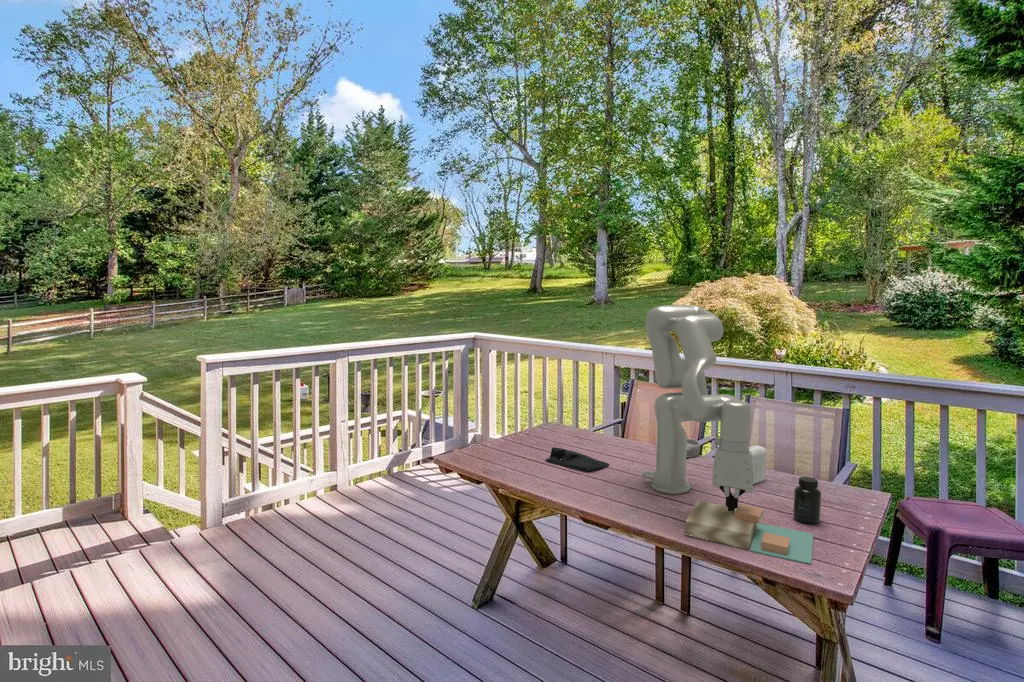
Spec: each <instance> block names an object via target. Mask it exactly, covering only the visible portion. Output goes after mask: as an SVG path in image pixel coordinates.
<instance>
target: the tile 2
mask: <svg viewBox="0 0 1024 682" xmlns="http://www.w3.org/2000/svg"><path fill="white" fill-rule="evenodd" d="M789 546H790V538H788V537H783V536H779V535H774V534H769V533H764V536H763V539H762V542H761V549H763V550H767V551H771V552H776V553H780V554H784V555H787V554H788V550H789Z"/></svg>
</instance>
